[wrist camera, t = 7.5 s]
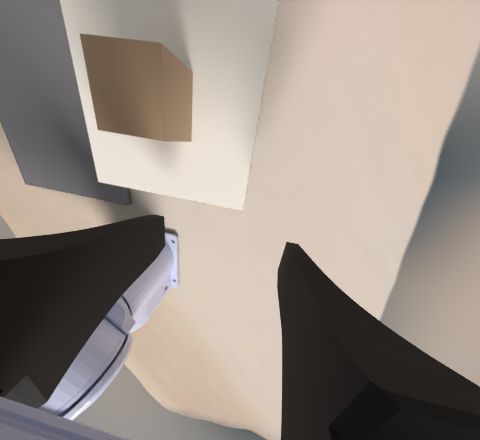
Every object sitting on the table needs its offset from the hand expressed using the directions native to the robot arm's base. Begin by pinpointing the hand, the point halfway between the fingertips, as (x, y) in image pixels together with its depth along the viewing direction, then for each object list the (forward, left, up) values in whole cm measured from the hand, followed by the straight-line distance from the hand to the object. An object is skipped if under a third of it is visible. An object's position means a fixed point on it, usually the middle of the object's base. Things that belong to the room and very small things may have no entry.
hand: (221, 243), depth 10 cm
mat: (+5, +22, -10) cm, 25 cm away
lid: (+7, +6, -6) cm, 11 cm away
